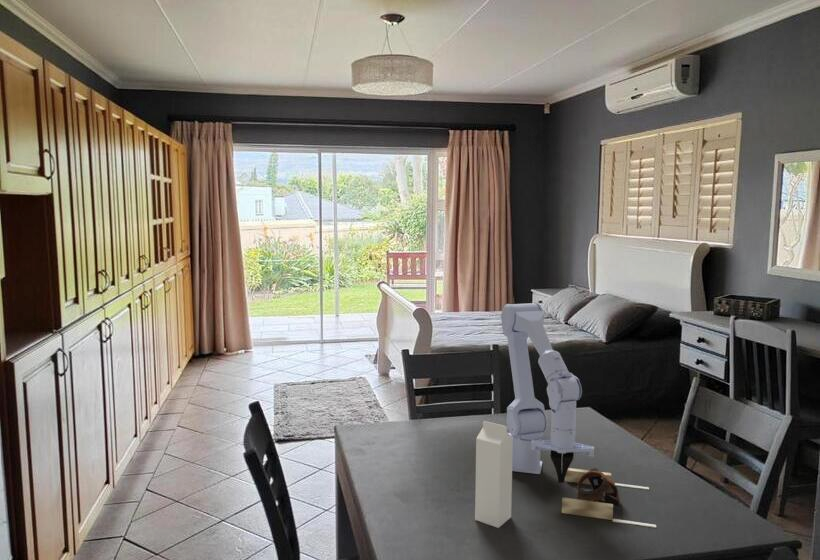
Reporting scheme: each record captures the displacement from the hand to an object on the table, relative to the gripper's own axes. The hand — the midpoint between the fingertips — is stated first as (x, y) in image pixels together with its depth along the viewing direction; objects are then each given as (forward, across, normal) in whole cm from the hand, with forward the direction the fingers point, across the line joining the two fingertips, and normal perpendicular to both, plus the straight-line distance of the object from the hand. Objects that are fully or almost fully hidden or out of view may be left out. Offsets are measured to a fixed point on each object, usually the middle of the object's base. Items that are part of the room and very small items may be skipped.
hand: (561, 481), depth 147 cm
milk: (+4, -14, -16) cm, 22 cm away
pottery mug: (+4, +8, 0) cm, 9 cm away
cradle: (+3, +6, 0) cm, 7 cm away
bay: (+3, +16, 0) cm, 17 cm away
